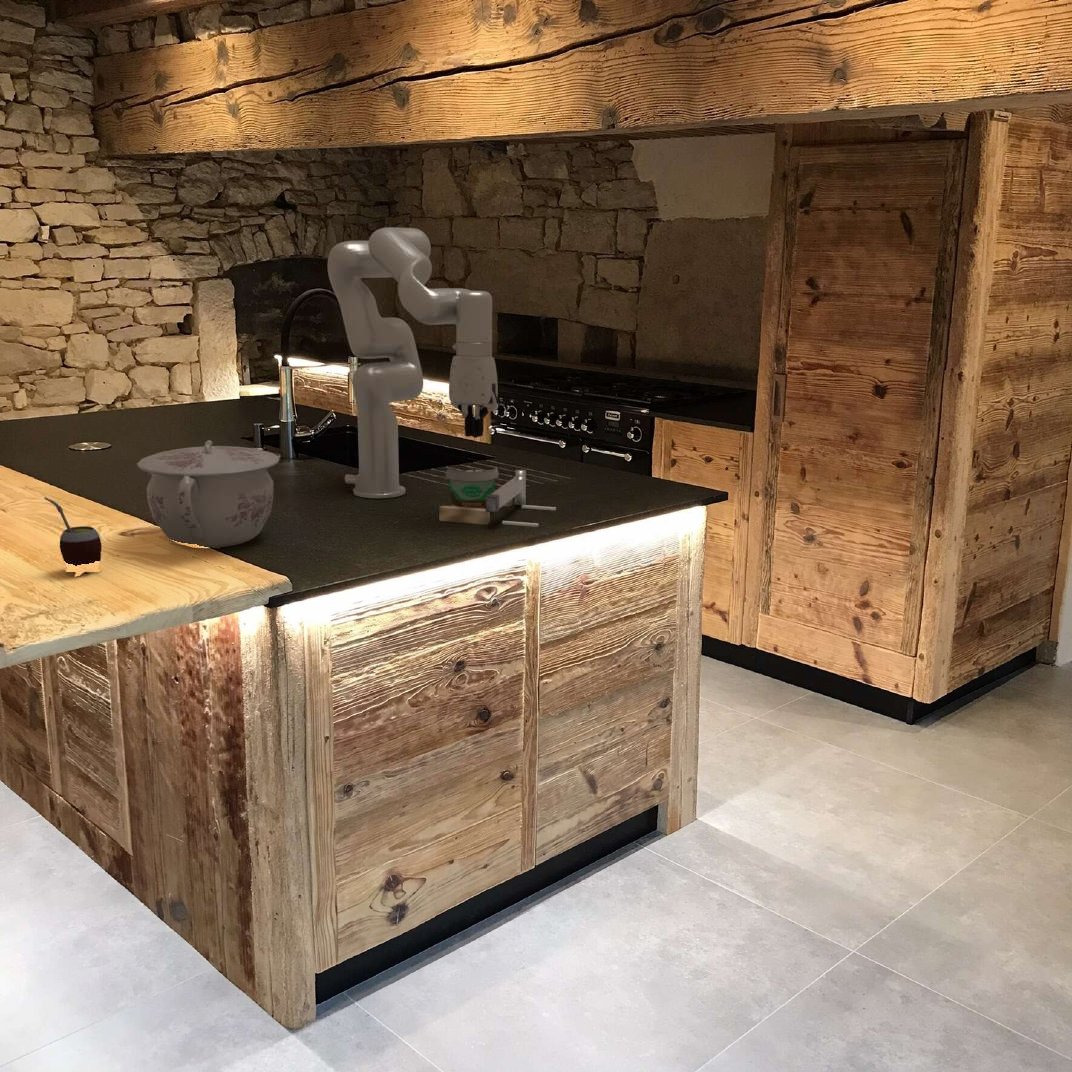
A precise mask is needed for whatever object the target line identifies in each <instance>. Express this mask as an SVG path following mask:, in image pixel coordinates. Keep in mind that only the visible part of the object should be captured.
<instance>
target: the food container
mask: <svg viewBox="0 0 1072 1072" xmlns="http://www.w3.org/2000/svg"><path fill="white" fill-rule="evenodd" d="M445 473H446V474H445V478H447V479H448V484H449V485H448V486H449V494H450V501H451V506H454V507H467V508H480V509H486V496H487V495H488V494H492V493H493V492H494V491H496V489H495V488H496V479H497V478H499V476H500V475H499V471H498V468H497V466H495V467H494V469H485V470H483V469H478V468H477V469H476V468H475V469H474V468H473V469H472V468H470V469H466V470H455V469H451V468H450V467H447V470H446V472H445Z"/></svg>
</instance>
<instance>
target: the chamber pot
mask: <svg viewBox="0 0 1072 1072" xmlns="http://www.w3.org/2000/svg"><path fill="white" fill-rule="evenodd" d="M280 459H281V458H280V457H279V456H278V455H277V454H274V453H273V452H270V451H266V450H262V449H257V448H252V447H243V446H230V445H229V446H228V445H213V441H212V440H210V439H208V440H207V441H205V443H204V446H192V447H184V448H177V449H171V450H165V451H161V452H157V453H154V454H151V455H148V456H145V457H143V458H141V459H140V460H139V461H138V463H136V465H137V467H138V468H139V470H141V471H143V472H147V473H149V474H151V476H150V479H149V482H148V484H147V486H146V497H147V498H146V499H147V502H148V507H149V510H150V512H151V516H152V518H153V520H154V522H155V523H156V524H157V526H158V527H159V528H160V530H161V531H162V533H164V534H165V536H166V537H167V539H168V538H169V539H168V540H170V539H171V540H174V541H177V542H181V543H188V544H197V545H199V546H204V547H224V546H232V545H236V546H238V545H237V544H239V545H241V543H242V544H244V543H246V542H249V541H251V540H253V539H254V538H257V536H258V535H259V534H260V533H261V531H262V529H263V528H264V526H265V524H266V523H267V521H268V519H269V518H270V515H271V513H272V509H273V508H272V507H273V500H274V494H275V493H274V491H275V489H274V487H275V486H274V480H273V478H272V477H271V475H270V474H269V472H268V469H270V468H272V467H273V466H276V465H277V464H279V462H280ZM171 540H170V541H171ZM232 547H233V546H232Z"/></svg>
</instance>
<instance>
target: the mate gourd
mask: <svg viewBox="0 0 1072 1072" xmlns="http://www.w3.org/2000/svg"><path fill="white" fill-rule="evenodd" d="M43 499H44V500H46V501H47V502H49V503H50V504H52V505H54V507H55V508H56V510H57V511H58V513H59V514H60V517H61V518H62V520H63V523H64V524H65V528H66V529H65V530H63V531H62V533H61V535H60V538H59V539H60V540H59V549H60V554H61V556H62V559H63V562H64V561H65V562H66V563H68V564H73V565H75V566H77V565H81V564H89V563H94V562H95V561H100V562H101V558H102V542H101V541H102V540H101V538H100V533H99V532H98V530H97V529H96V528H95V527H92V526H85V525H84V526H83V525H82V526H73V527H70V525H69V523H68V520H67V518H66V516H65V513H64V510H63V508H62V507H61V505H60V504H58V503H57V502H56V501H54V500H52V499H50V498H48V497H46V496H44V498H43Z"/></svg>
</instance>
